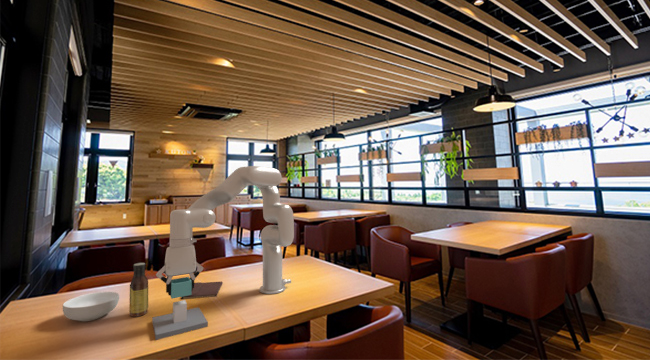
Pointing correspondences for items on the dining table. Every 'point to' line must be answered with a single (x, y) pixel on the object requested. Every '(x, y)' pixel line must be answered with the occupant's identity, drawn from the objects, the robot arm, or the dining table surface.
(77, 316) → the cereal bowl
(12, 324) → the dining table surface
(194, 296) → the notebook
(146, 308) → the sauce bottle
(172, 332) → the post base
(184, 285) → the teal upright block
